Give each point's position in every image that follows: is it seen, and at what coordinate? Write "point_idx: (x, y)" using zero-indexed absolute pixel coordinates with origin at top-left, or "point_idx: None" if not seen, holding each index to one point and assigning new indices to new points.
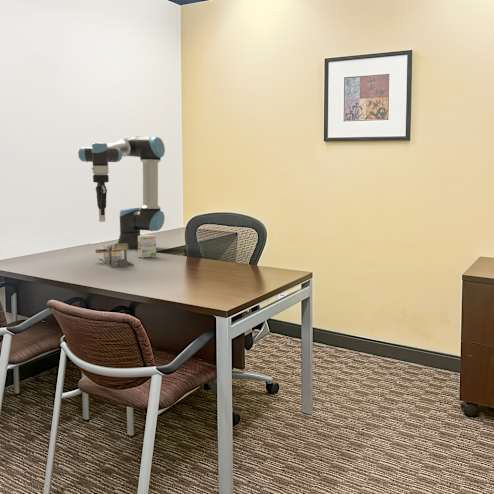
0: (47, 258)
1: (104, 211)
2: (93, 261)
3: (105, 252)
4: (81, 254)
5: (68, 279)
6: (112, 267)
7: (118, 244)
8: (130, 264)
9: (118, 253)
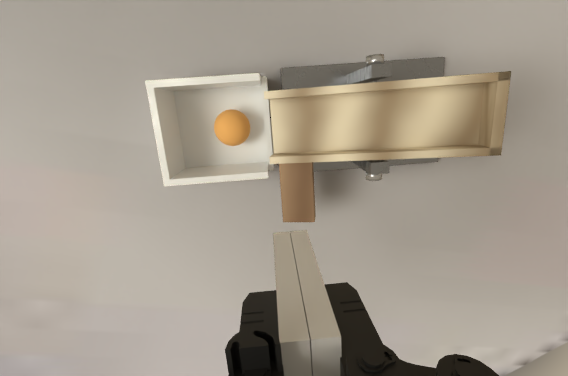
0: (135, 360)
1: (328, 308)
2: (260, 209)
3: (175, 148)
4: (54, 234)
5: (556, 319)
6: (435, 158)
7: (499, 137)
8: (431, 72)
9: (220, 86)
